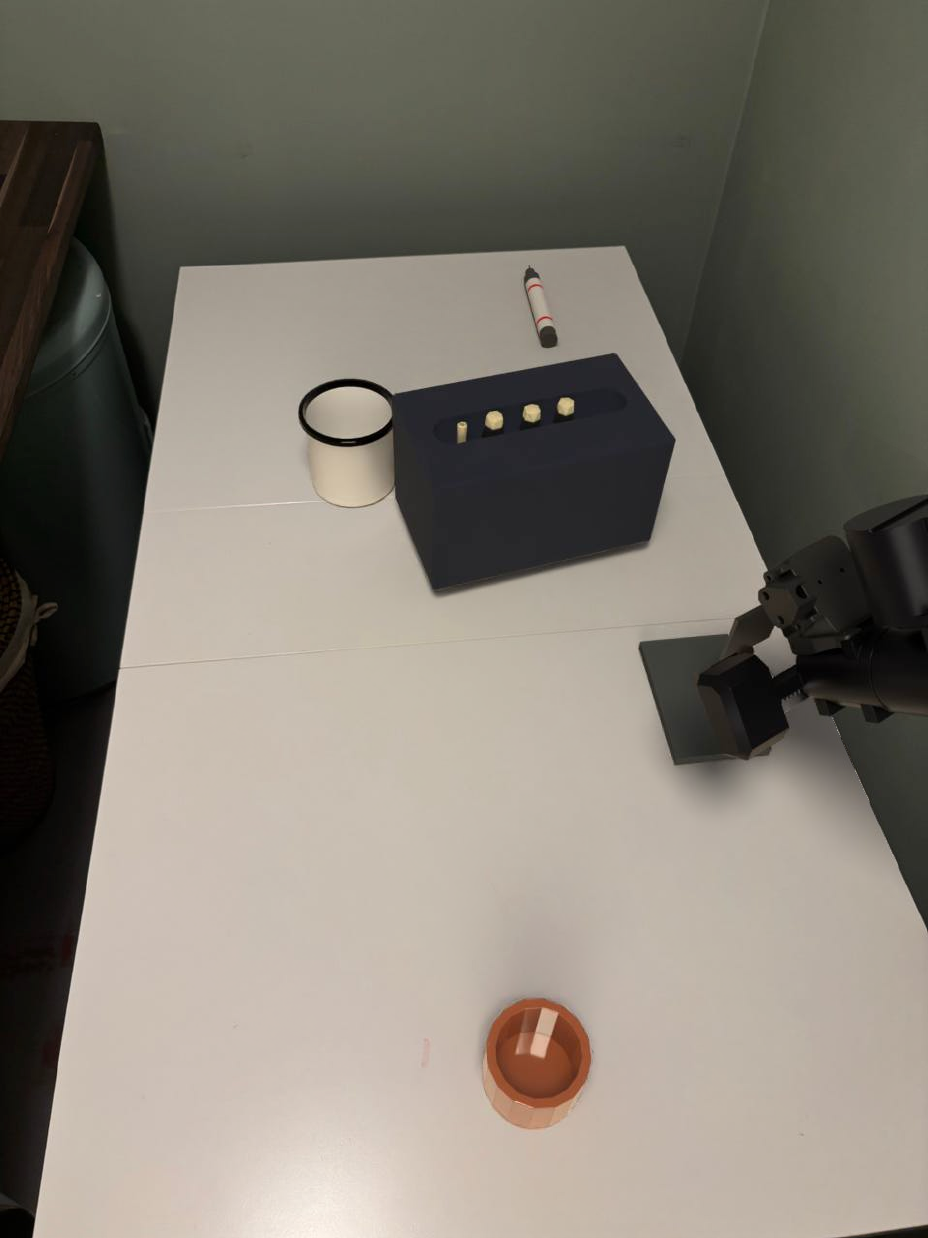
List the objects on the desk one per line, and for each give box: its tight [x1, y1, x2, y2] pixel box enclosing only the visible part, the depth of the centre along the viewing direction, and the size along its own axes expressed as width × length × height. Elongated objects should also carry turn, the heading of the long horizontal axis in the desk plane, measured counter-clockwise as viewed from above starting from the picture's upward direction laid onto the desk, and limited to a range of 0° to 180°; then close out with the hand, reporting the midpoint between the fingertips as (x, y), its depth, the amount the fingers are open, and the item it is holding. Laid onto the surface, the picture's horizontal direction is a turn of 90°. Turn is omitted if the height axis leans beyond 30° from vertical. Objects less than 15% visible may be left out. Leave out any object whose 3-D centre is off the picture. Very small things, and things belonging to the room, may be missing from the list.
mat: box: [638, 633, 773, 766], centre depth 84 cm, size 12×8×1 cm, turn 8°
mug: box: [297, 378, 395, 508], centre depth 97 cm, size 12×10×9 cm
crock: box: [482, 997, 592, 1130], centre depth 63 cm, size 6×6×6 cm
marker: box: [523, 264, 559, 348], centre depth 119 cm, size 15×2×2 cm, turn 7°
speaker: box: [392, 352, 677, 591], centre depth 90 cm, size 22×13×15 cm, turn 108°
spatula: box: [719, 604, 775, 661], centre depth 77 cm, size 2×5×14 cm, turn 122°
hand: (739, 654), depth 76 cm, fingers open, 9 cm apart
